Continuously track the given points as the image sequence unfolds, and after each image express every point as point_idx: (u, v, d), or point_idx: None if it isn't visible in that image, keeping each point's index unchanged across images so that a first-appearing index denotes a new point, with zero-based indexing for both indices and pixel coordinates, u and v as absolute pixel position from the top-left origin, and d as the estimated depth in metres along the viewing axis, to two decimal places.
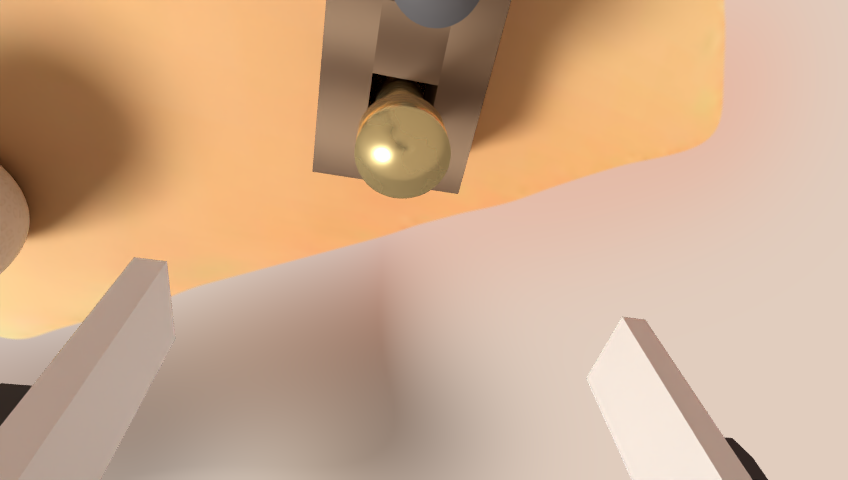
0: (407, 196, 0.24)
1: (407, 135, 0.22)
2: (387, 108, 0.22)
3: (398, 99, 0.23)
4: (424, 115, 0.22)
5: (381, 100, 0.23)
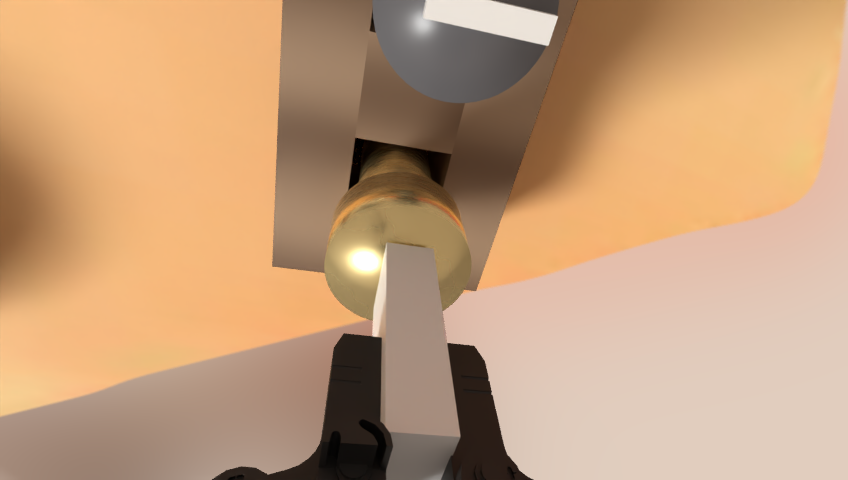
0: None
1: (406, 243, 0.15)
2: (374, 204, 0.14)
3: (392, 184, 0.15)
4: (432, 216, 0.14)
5: (366, 183, 0.15)
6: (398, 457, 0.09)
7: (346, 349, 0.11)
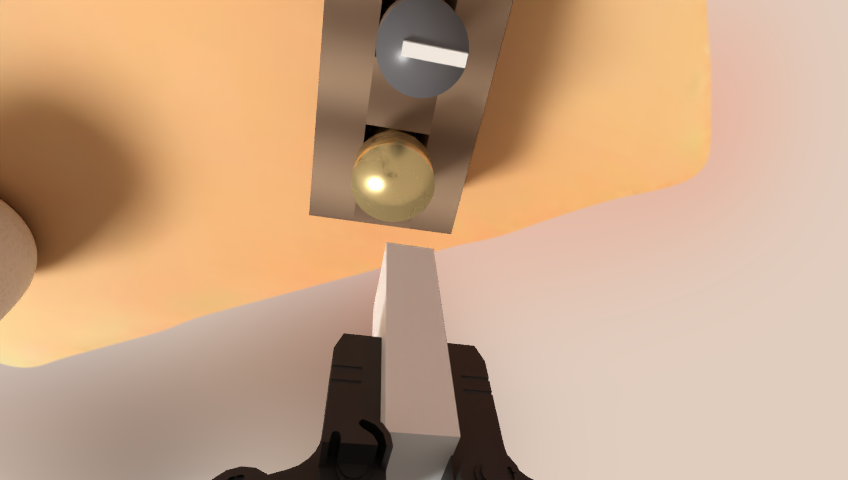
0: (397, 220, 0.28)
1: (396, 169, 0.26)
2: (379, 146, 0.25)
3: (389, 137, 0.26)
4: (410, 152, 0.25)
5: (374, 137, 0.27)
6: (398, 457, 0.09)
7: (346, 350, 0.11)
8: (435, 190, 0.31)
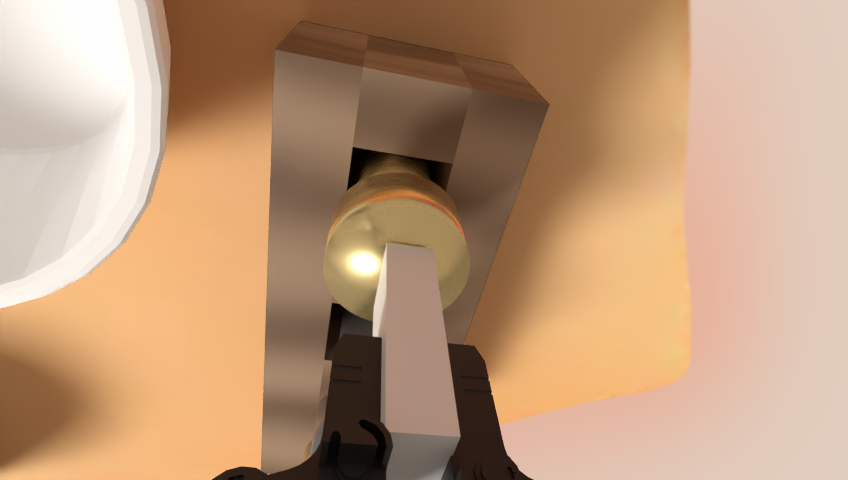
0: None
1: None
2: None
3: None
4: None
5: None
6: (398, 457, 0.09)
7: (346, 349, 0.11)
8: None
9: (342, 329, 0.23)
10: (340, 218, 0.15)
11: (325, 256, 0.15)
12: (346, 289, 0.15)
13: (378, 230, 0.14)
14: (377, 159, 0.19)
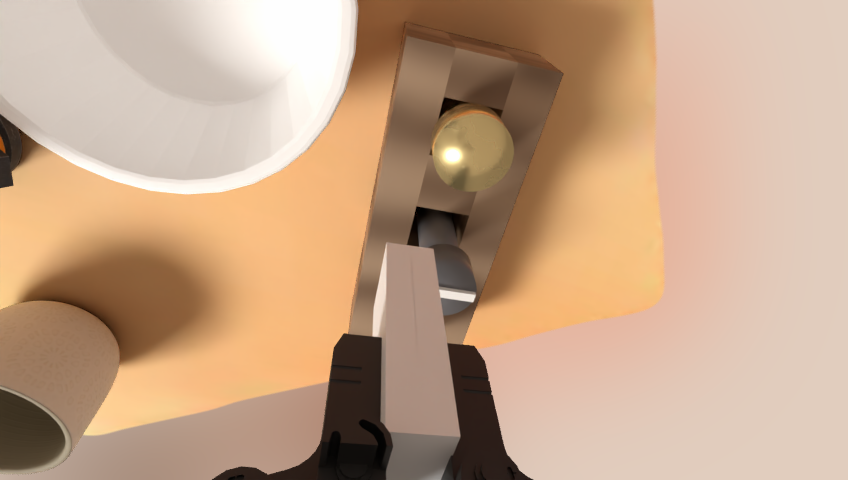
0: None
1: None
2: None
3: None
4: None
5: None
6: (398, 457, 0.09)
7: (346, 349, 0.11)
8: None
9: (421, 226, 0.34)
10: (444, 124, 0.27)
11: (436, 144, 0.27)
12: (444, 166, 0.28)
13: (466, 129, 0.26)
14: (454, 103, 0.31)
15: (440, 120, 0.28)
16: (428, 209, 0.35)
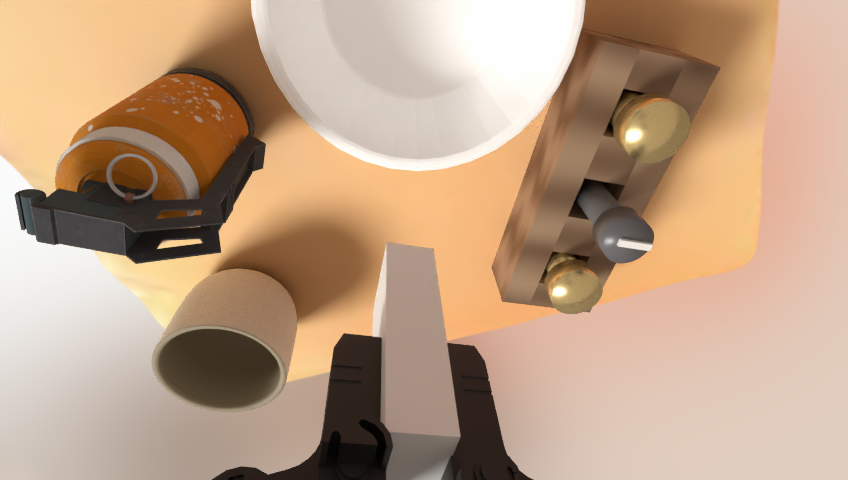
0: (574, 313, 0.45)
1: (581, 286, 0.43)
2: (573, 273, 0.42)
3: (575, 265, 0.43)
4: (592, 277, 0.42)
5: (564, 264, 0.44)
6: (398, 457, 0.09)
7: (346, 350, 0.11)
8: None
9: (585, 195, 0.42)
10: (636, 110, 0.34)
11: (630, 126, 0.34)
12: (633, 143, 0.35)
13: (656, 113, 0.34)
14: (622, 93, 0.39)
15: (627, 107, 0.36)
16: (586, 181, 0.43)
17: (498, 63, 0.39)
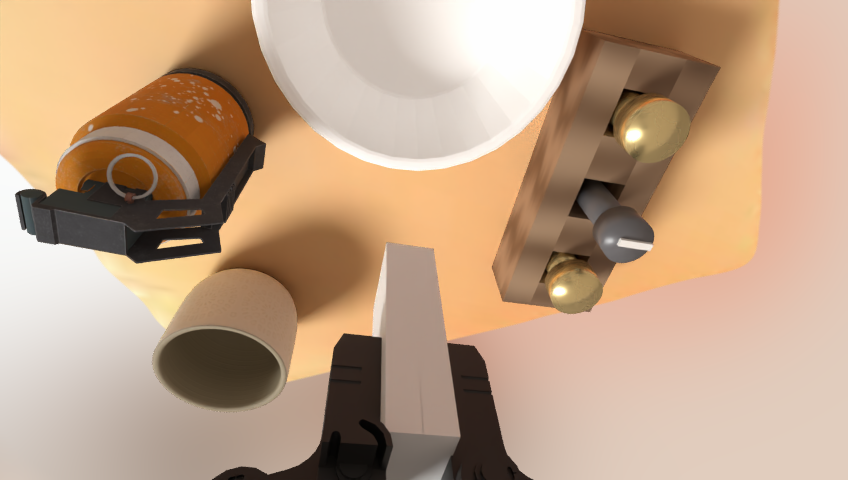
0: (574, 312, 0.45)
1: (582, 285, 0.43)
2: (573, 273, 0.42)
3: (575, 265, 0.43)
4: (592, 277, 0.42)
5: (564, 263, 0.44)
6: (398, 457, 0.09)
7: (346, 349, 0.11)
8: None
9: (585, 195, 0.42)
10: (636, 109, 0.34)
11: (630, 125, 0.34)
12: (633, 143, 0.35)
13: (656, 113, 0.34)
14: (622, 93, 0.39)
15: (627, 107, 0.36)
16: (587, 181, 0.43)
17: (498, 63, 0.39)
